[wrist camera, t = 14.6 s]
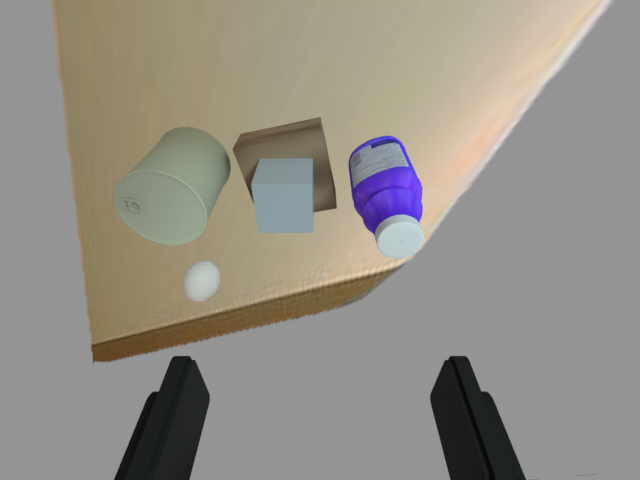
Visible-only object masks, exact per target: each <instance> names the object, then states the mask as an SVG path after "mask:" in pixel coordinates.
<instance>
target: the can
mask: <svg viewBox="0 0 640 480" xmlns="http://www.w3.org/2000/svg"><path fill="white" fill-rule="evenodd" d="M230 171H231V165H230V159H229V156H228V154H227V152H226V150H225V148H224V147H223V146H222V144H221V143H220V142H219V141H218V140H217V139H216V138H215V137H213V136H212V135H211V134H209V133H207V132H205V131H203V130H201V129H198V128H194V127H177V128H174V129H172V130H170V131H168V132H167V133H165V134H164V135H163V136H162V138H161V139H160V141H159V143H158V144H157V145H156V146H155V147H154V148H153V149H152V150H151V151H150V152H149V153H148V154H147V155H146V156H145V157H144V158H143V159H142V160H141V161H140V162H139V163H138V164H137V165H136V166H135V167H134V168H133V169H132V170H131V171H130V172H129V173H128V174H126V175H125V176H124V177H122V178H121V179H120V181H119V182H118V183H117V185H116V187H115V190H114V204H115V207H116V210H117V212H118V214H119V216H120V217H121V219H122V220H123V221H124V223H125V224H126V225H127V226H128V227H129V228H130V229H132V230H133V231H134V232H135V233H137V234H138V235H140V236H142V237H144V238H145V239H148V240H150V241H152V242H156V243H159V244H164V245H182V244H186V243H189V242H192V241H194V240H195V239H197V238H198V237H199V236H200V235H201V234H202V233H203V231H204V230H205V228H206V225H207V221H208V219H209V216H210V214H211V212H212V210H213V207H214V205H215V203H216V201H217V199H218V196H219V194H220V192H221V190H222V188H223V186H224V185H225V184H226V182H227V181H228V178H229V176H230Z"/></svg>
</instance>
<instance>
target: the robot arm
mask: <svg viewBox="0 0 640 480" xmlns="http://www.w3.org/2000/svg"><path fill="white" fill-rule="evenodd" d="M209 402H210V394H209V391H208V389H207V387H206V384H205V382H204V380H203V377H202V375H201V372H200V370H199V368H198V365H197V363H196V361H195V360H192V359H191V357H190V356H174V357H173V358H172V359H171V361H170V363H169V366H168V368H167V371H166V374H165V376H164V379H163V381H162V384H161V387H160V389H159V391H153V392H152V393H151V394H150V395H149V396H148V398H147V400H146V402H145V404H144V407H143V409H142V412H141V414H140V417H139V419H138V422H137V424H136V427H135V429H134V431H133V434H132V436H131V439H130V441H129V444H128V446H127V449H126V451H125V453H124V456H123V458H122V461H121V463H120V466H119V468H118V471H117V473H116V476H115V478H114V480H190V476H191V473H192V469H193V465H194V461H195V457H196V453H197V449H198V445H199V441H200V438H201V434H202V430H203V426H204V422H205V418H206V414H207V410H208V407H209ZM430 402H431V407H432V410H433V414H434V418H435V422H436V426H437V430H438V434H439V438H440V441H441V445H442V449H443V453H444V457H445V461H446V465H447V469H448V473H449V476H450V480H526V478H525V476H524V473H523V471H522V468H521V466H520V463H519V461H518V458H517V456H516V453H515V451H514V449H513V446H512V444H511V441H510V439H509V436H508V434H507V431H506V429H505V426H504V424H503V422H502V419H501V417H500V414H499V412H498V409H497V407H496V404H495V402H494V400H493V398H492V396H491V395H490V394H489V393H488V392H487V391H481V389H480V387H479V384H478V381H477V379H476V376H475V374H474V371H473V368H472V366H471V363H470V361H469V359H468V358H467V357H466V356H450V357H449V359H448V360H445V361H444V363H443V365H442V368H441V370H440V372H439V375H438V377H437V380H436V382H435V384H434V387H433V389H432V391H431V394H430Z"/></svg>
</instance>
